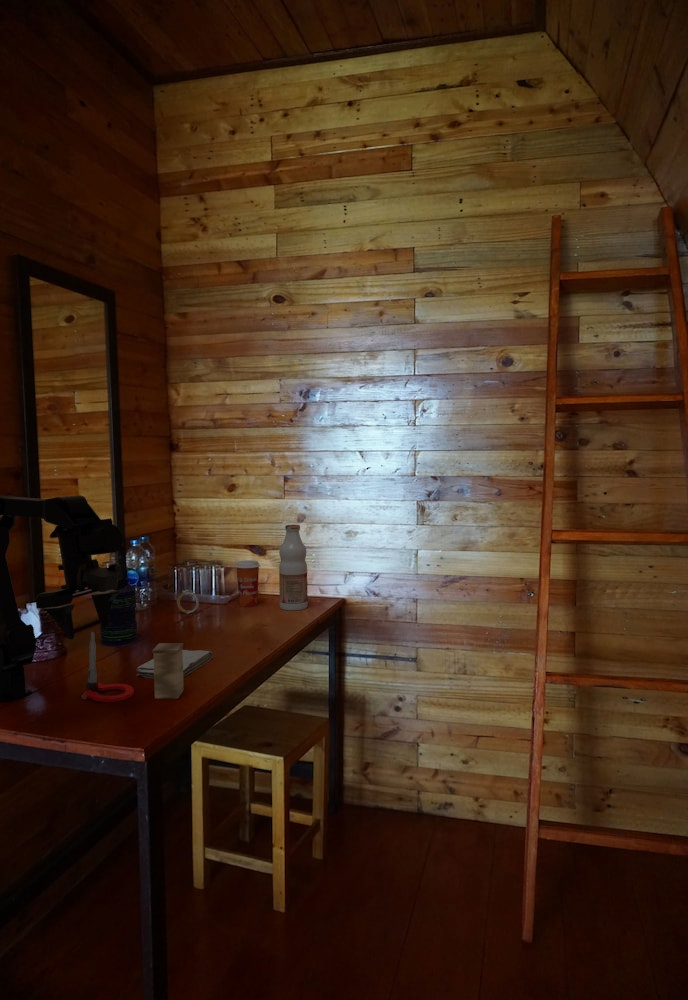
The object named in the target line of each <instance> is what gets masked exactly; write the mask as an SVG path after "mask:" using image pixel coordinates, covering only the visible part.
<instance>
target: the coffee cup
mask: <svg viewBox="0 0 688 1000" xmlns="http://www.w3.org/2000/svg"><path fill="white" fill-rule="evenodd" d="M260 567H261V564H260V563H259V561H257V560H253V559H249V560H239V561H237V563H236V565H235V568H236V578H237V588H238V589H237V591H238V601H239V607H243V608H252V607H257V606H258V599H259V598H258V597H259V596H258V595H259V576H260V575H259V573H260V570H259V569H260Z"/></svg>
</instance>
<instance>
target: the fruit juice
mask: <svg viewBox="0 0 688 1000" xmlns="http://www.w3.org/2000/svg"><path fill="white" fill-rule="evenodd" d="M284 530H285V537H284V539H283V542H282V544H281V546H280V547H279V552H278V553H279V557H280V563H279V565H278V566H279V567H278V568H279V570H278V574H279V575H278V577H279V579H278V582H279V586H278V587H279V588H278V589H279V607H280V609H281V610H283V611H290V612H291V611H302V610H306V609H307V608H308V598H309V597H308V564H307V561H306V557H307V547H306V546H305V545H306V544H304V543H303V541H302V538H301V536H300V535H301V534H300V530H301V526H300V525H299V524H286V525H285V526H284Z"/></svg>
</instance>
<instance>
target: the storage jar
mask: <svg viewBox="0 0 688 1000" xmlns="http://www.w3.org/2000/svg"><path fill="white" fill-rule="evenodd" d="M125 580H130V577H124V581H125ZM136 590H137V589H136V587H135V586H132V585H125V588H122V589H119V590H116V591H121V592H120V593H119V594H118V595H117V596H116V597H115V598H114V600H113V603H112V606H111V611H110V617H109V622H108V627H106V628H103V627H102V625H101V623H100V624H99V628H100V629H99V635H100V645H101V646H104V647H111V648H112V647H114V648H115V647H116V648H117V647H125V646H129V645H133V644H135V643H136V642H138V636H137V635H138V626H137V625H138V623H137V622H138V621H137V619H136V608H137V596H136V594H137V593H136Z"/></svg>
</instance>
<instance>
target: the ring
mask: <svg viewBox="0 0 688 1000" xmlns="http://www.w3.org/2000/svg"><path fill="white" fill-rule="evenodd" d="M186 595H191V596H193V597H194V599H195V606H194V608H193V609H188V610H186V609H184V608H183V607H182V606H181V603H180V602H181V599H182V597H183V596H186ZM199 603H200V599H199V596H198V595H197V594H196V593H194V592H193V590H192V589H189V588H186V589H185V590H184V589H182V590H181V593H180V594H179V595H178V597H177V599H176V605H177V608H178V610H179V611H180V612H182V613H185V614H190V613H193V612H195V611H196V610H197V609H198V607H199Z"/></svg>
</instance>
